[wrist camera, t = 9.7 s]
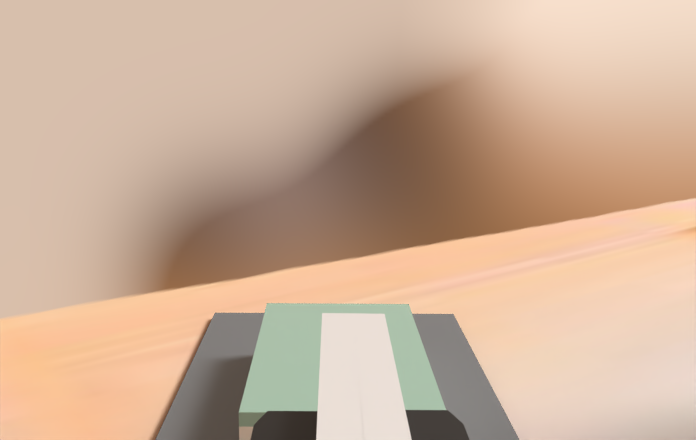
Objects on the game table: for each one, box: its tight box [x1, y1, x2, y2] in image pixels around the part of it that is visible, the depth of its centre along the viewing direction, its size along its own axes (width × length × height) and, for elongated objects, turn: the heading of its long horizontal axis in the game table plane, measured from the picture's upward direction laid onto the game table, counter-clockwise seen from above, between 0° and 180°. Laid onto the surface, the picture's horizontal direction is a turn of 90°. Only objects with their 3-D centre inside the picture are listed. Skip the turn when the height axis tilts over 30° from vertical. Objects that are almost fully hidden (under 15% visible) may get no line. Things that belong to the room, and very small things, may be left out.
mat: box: [156, 313, 519, 440], centre depth 32 cm, size 24×16×1 cm, turn 2°
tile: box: [239, 303, 446, 440], centre depth 31 cm, size 3×8×12 cm
